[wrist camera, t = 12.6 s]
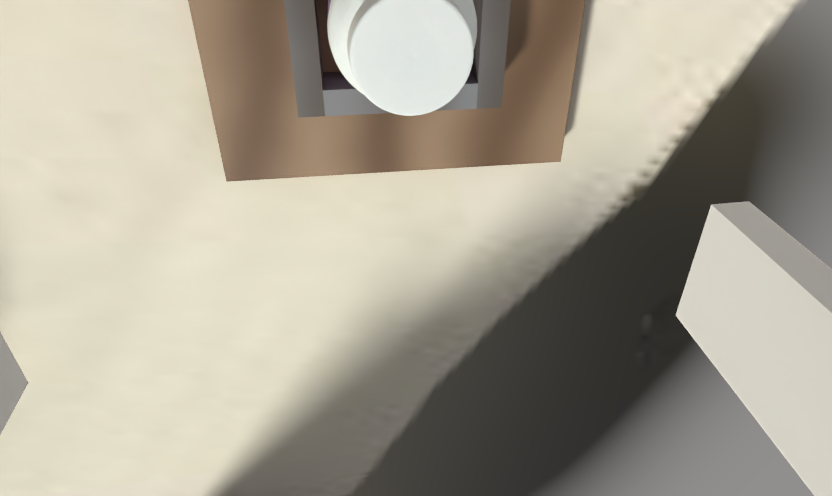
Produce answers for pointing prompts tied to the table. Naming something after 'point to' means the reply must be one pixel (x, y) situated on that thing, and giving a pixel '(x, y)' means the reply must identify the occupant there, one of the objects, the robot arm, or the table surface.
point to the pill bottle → (404, 50)
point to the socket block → (360, 118)
